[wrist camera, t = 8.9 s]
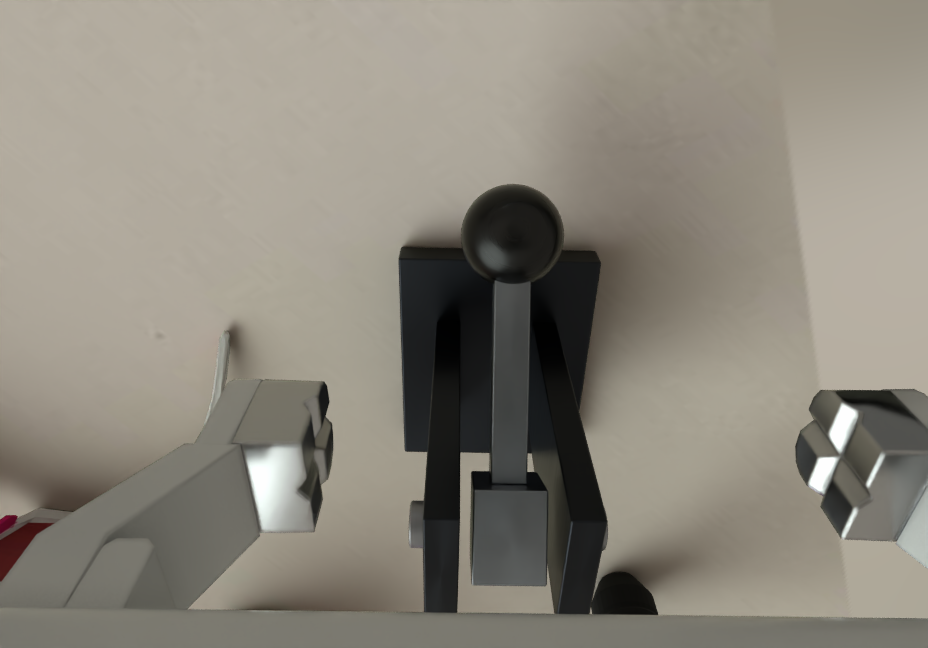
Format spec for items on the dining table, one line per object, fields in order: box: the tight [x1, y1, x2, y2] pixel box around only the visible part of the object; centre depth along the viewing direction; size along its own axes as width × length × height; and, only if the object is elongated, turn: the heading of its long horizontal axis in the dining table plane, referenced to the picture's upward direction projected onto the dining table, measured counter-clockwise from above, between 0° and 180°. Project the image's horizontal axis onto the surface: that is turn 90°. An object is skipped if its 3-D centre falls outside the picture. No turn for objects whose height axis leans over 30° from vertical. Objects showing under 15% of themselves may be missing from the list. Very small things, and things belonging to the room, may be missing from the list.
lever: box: [461, 184, 564, 586], centre depth 19 cm, size 12×3×3 cm, turn 179°
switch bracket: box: [399, 247, 608, 614], centre depth 23 cm, size 10×8×12 cm
